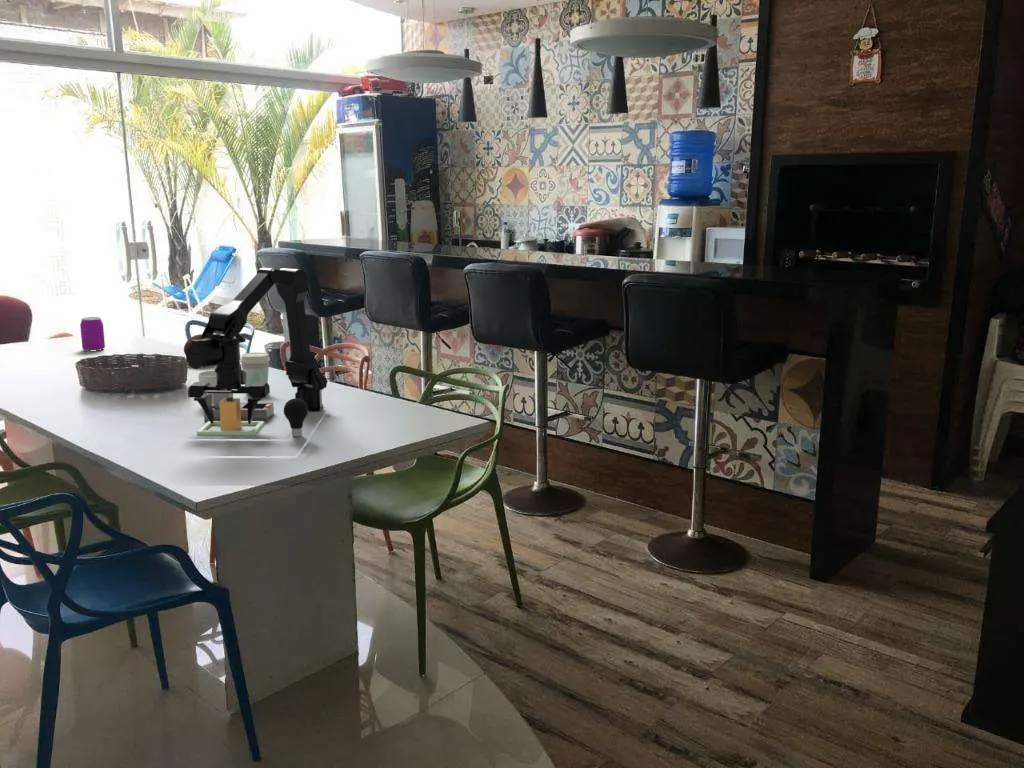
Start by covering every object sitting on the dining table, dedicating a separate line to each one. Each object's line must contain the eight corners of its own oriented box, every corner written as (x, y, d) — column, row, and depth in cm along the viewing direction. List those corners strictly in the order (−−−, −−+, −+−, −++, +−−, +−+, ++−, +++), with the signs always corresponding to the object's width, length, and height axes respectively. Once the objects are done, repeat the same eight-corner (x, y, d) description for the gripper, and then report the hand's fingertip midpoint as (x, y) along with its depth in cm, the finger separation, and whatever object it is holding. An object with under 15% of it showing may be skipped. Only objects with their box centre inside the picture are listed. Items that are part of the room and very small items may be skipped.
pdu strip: (273, 417, 230) (273, 401, 229) (267, 424, 222) (266, 408, 221) (213, 416, 229) (212, 401, 228) (204, 424, 221) (203, 408, 220)
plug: (241, 429, 216) (239, 396, 214) (237, 433, 212) (235, 399, 210) (225, 429, 216) (223, 396, 214) (221, 433, 212) (219, 399, 210)
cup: (221, 413, 233) (219, 377, 231) (194, 411, 235) (192, 375, 233) (236, 406, 241) (234, 371, 239) (210, 404, 243) (208, 369, 240)
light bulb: (296, 442, 207) (295, 402, 205) (279, 438, 210) (278, 399, 208) (314, 437, 212) (312, 398, 210) (297, 433, 215) (295, 394, 213)
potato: (209, 358, 307) (207, 330, 305) (225, 364, 298) (223, 335, 296) (178, 362, 300) (176, 333, 298) (193, 368, 291) (192, 338, 288)
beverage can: (77, 351, 317) (75, 319, 314) (91, 347, 324) (88, 316, 322) (96, 352, 316) (93, 320, 313) (109, 348, 323) (106, 317, 320)
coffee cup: (235, 395, 253) (233, 355, 251) (254, 389, 261) (252, 351, 259) (259, 398, 250) (257, 358, 248) (277, 392, 258) (275, 353, 256)
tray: (264, 427, 219) (264, 421, 219) (255, 438, 210) (254, 431, 209) (209, 427, 219) (208, 420, 218) (197, 438, 209) (196, 431, 208)
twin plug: (234, 415, 227) (232, 386, 226) (230, 419, 223) (228, 390, 222) (218, 415, 227) (217, 386, 225) (214, 418, 223) (212, 389, 222)
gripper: (273, 356, 219) (275, 415, 222) (199, 355, 218) (202, 415, 221) (263, 364, 208) (266, 426, 211) (185, 364, 207) (189, 426, 210)
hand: (231, 423), depth 214 cm, fingers open, 9 cm apart
